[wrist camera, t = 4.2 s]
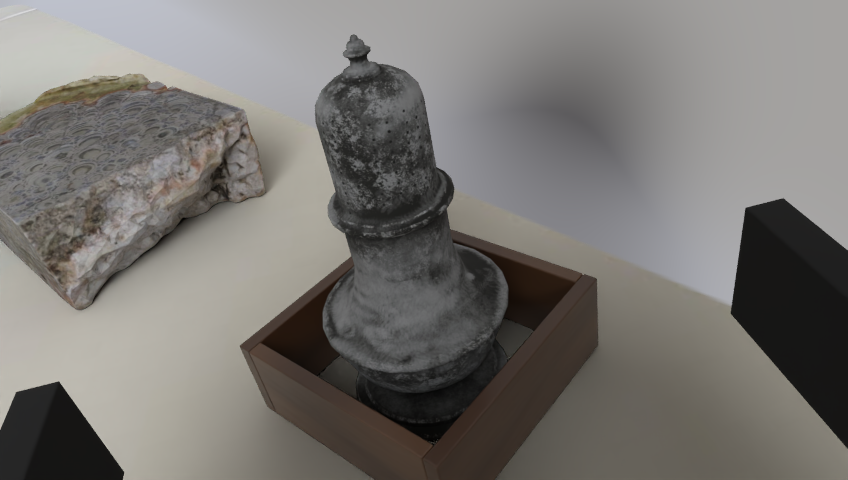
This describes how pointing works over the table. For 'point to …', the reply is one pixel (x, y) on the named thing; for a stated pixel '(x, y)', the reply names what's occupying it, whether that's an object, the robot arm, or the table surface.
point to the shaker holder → (483, 419)
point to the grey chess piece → (403, 256)
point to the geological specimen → (115, 175)
